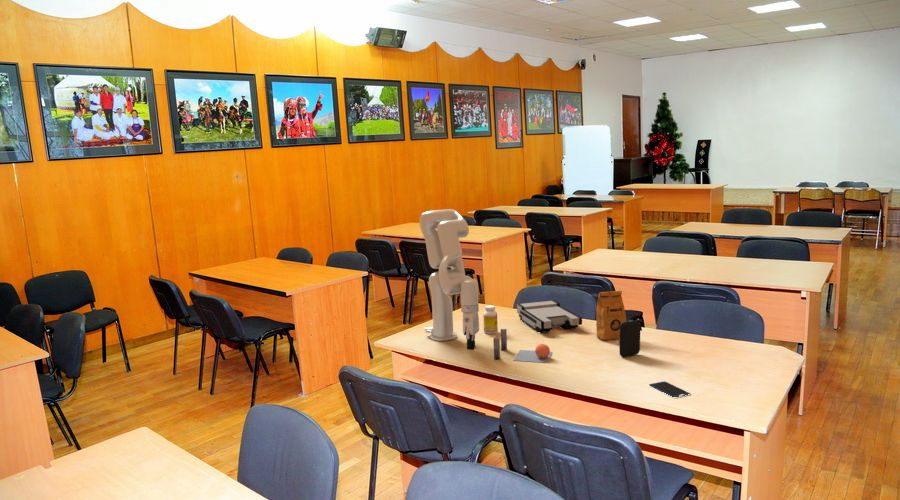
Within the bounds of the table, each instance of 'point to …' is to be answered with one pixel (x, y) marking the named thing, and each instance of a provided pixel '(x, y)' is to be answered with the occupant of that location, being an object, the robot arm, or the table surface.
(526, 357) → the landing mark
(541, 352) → the ball
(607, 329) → the coffee package
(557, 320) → the game console
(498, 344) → the post
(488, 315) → the supplement bottle
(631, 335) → the carrying case or bag
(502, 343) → the post
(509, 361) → the table surface
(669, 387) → the cell phone
